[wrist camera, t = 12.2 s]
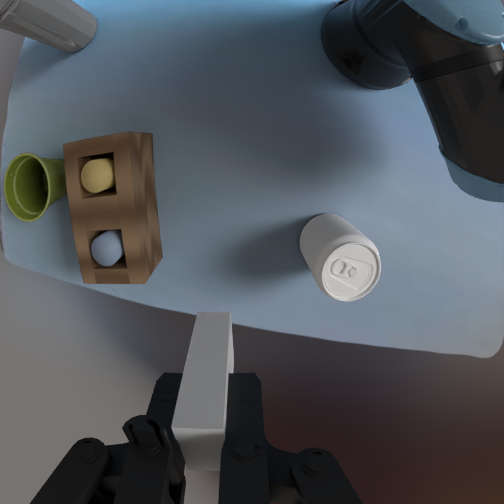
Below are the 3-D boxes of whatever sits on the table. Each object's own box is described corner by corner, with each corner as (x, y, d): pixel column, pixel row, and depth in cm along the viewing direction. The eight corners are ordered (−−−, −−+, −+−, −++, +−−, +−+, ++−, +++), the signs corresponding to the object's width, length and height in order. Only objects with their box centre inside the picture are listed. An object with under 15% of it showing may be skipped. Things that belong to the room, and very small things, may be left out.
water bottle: (55, 34, 30) (-49, -5, 7) (94, 5, 29) (2, -59, 6) (70, 72, 33) (-49, 43, 10) (111, 42, 32) (5, -20, 9)
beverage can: (336, 272, 45) (362, 313, 34) (289, 254, 44) (304, 292, 33) (360, 225, 43) (396, 254, 31) (313, 203, 42) (338, 226, 30)
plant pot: (85, 152, 38) (53, 156, 30) (77, 212, 41) (47, 228, 33) (40, 146, 37) (6, 150, 29) (35, 202, 40) (2, 215, 32)
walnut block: (95, 142, 37) (63, 144, 29) (152, 133, 38) (128, 131, 29) (109, 258, 44) (83, 283, 35) (162, 257, 44) (145, 283, 35)
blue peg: (113, 220, 40) (88, 236, 32) (137, 218, 40) (115, 235, 33) (117, 245, 41) (94, 266, 34) (140, 244, 41) (120, 265, 34)
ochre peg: (107, 157, 37) (79, 162, 29) (131, 154, 37) (107, 157, 29) (109, 184, 38) (82, 194, 31) (134, 181, 38) (110, 191, 31)
